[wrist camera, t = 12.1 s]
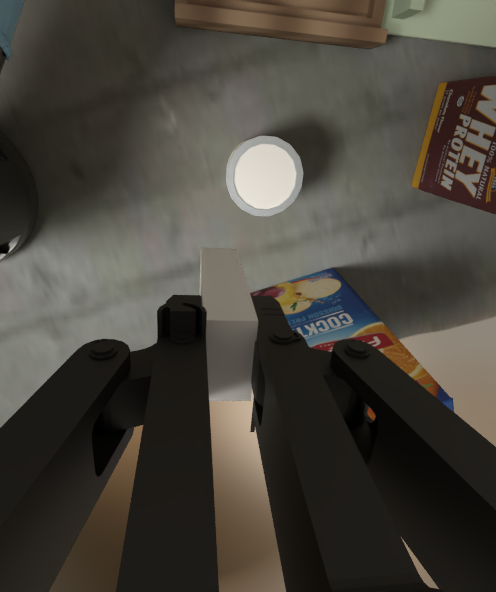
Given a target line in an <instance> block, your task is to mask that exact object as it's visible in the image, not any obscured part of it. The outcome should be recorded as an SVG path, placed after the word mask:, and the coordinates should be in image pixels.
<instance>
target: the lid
mask: <svg viewBox="0 0 496 592" xmlns="http://www.w3.org/2000/svg"><path fill="white" fill-rule="evenodd" d="M381 29H388V32H387V35H394V36H402V37H410V38H418V39H426V40H434V41H442V42H450V43H458V44H466V45H473V46H481V47H489V48H496V0H386V4H385V10H384V15H383V21H382V26H381Z"/></svg>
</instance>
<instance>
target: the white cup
mask: <svg viewBox="0 0 496 592" xmlns="http://www.w3.org/2000/svg"><path fill="white" fill-rule="evenodd" d="M303 173H304V172H303V168H302V164H301V160H300V157H299V155H298V154H297V153H296V151H295V150H294V149H293V147H292V146H291V145H290V144H289V143H287V142H285V141H283V140H281V139H280V138H278V137H273V136H258V137H256V138H253V139H250V140H247V141H244V142H242V143H240V144H239V145H238V146H237V147H236V148H235V149H234V150H233V151H232V153H231V156H230V158H229V160H228V164H227V175H226V184H227V187H228V190H229V193H230V196H231V198H232V199H233V201H234V202H235V203H236V204H237V205H238V206H239V207H240V209H242V210H244V211H246V212H248V213H250V214H252V215H254V216H271V215H274V214H277V213H280V212H282V211H284V210H285V209H286V208H287V207H288V206H290V205H291V204H292V203H293V202H294V201H295V199H296V197H297V195H298V193H299V192H300V190H301V188H302V180H303Z"/></svg>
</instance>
